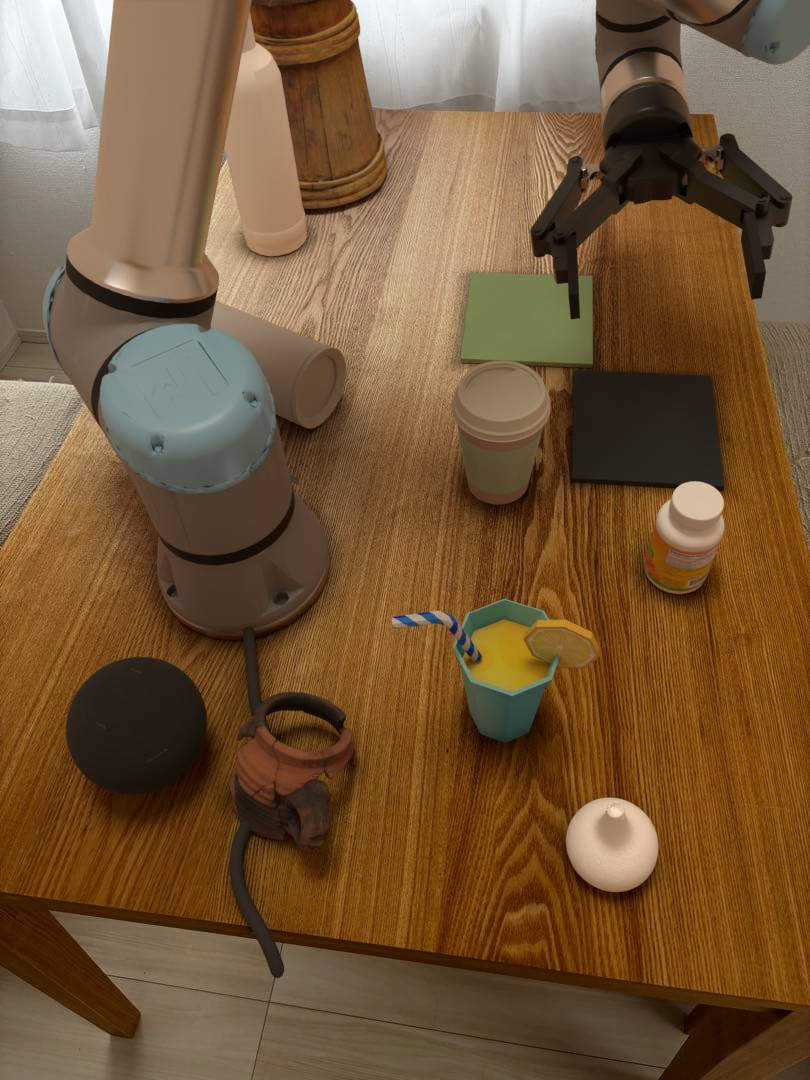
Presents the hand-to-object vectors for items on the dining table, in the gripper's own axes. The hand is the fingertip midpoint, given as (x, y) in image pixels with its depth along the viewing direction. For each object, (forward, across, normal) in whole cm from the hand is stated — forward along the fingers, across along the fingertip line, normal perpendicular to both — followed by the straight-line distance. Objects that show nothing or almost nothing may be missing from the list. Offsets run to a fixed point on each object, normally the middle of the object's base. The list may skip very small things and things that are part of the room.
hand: (664, 297), depth 67 cm
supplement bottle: (+14, 0, -19) cm, 24 cm away
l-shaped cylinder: (-6, +42, -15) cm, 45 cm away
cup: (+28, +15, -15) cm, 35 cm away
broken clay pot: (+35, +29, -12) cm, 47 cm away
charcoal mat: (-3, +1, -21) cm, 21 cm away
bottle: (-35, +44, -18) cm, 59 cm away
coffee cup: (+4, +15, -18) cm, 24 cm away
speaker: (+32, +41, -10) cm, 53 cm away
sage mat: (-20, +12, -21) cm, 32 cm away
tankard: (-52, +40, -21) cm, 69 cm away
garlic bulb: (+38, +6, -15) cm, 42 cm away
